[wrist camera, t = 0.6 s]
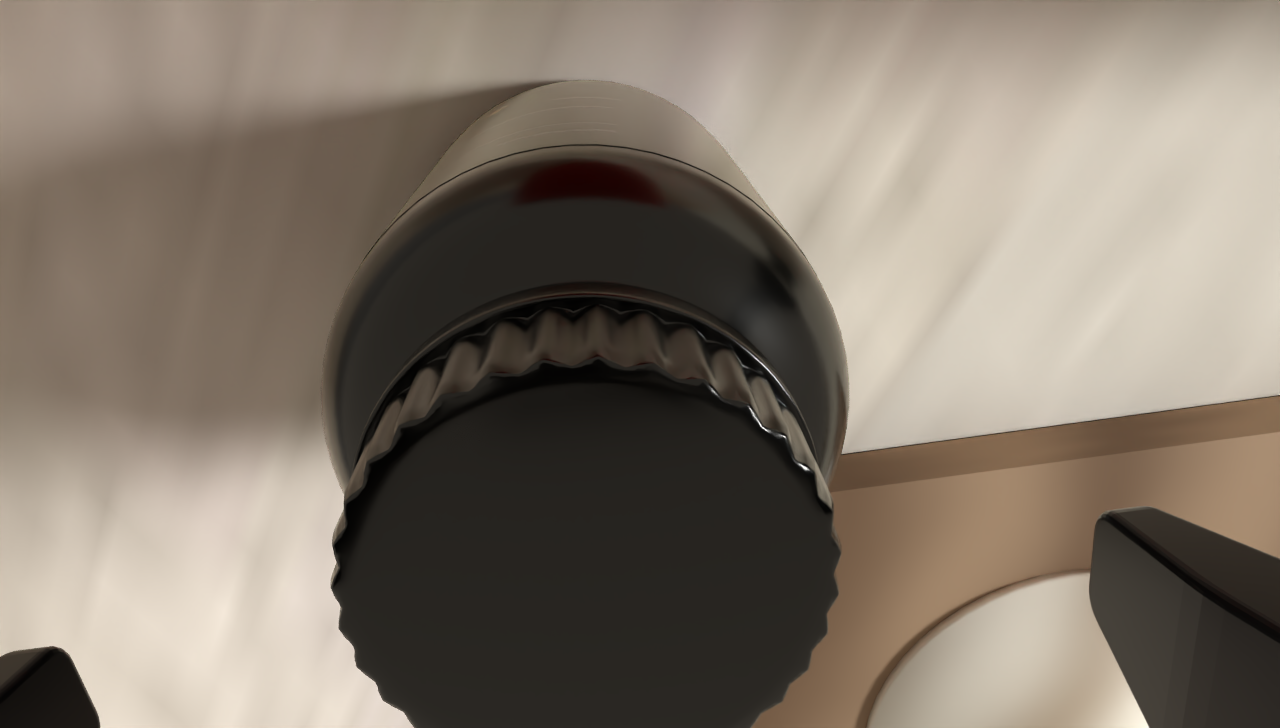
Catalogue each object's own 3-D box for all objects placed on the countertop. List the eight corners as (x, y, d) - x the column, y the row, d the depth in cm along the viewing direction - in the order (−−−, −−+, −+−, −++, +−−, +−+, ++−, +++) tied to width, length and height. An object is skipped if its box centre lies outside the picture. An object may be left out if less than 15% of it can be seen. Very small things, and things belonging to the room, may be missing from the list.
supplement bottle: (802, 300, 20) (1051, 708, 9) (531, 436, 21) (470, 946, 10) (658, 2, 18) (770, 86, 7) (356, 173, 19) (32, 486, 8)
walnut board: (1407, 378, 22) (1474, 412, 20) (1297, 850, 28) (1340, 905, 27) (689, 475, 22) (697, 517, 20) (743, 924, 29) (752, 983, 27)
